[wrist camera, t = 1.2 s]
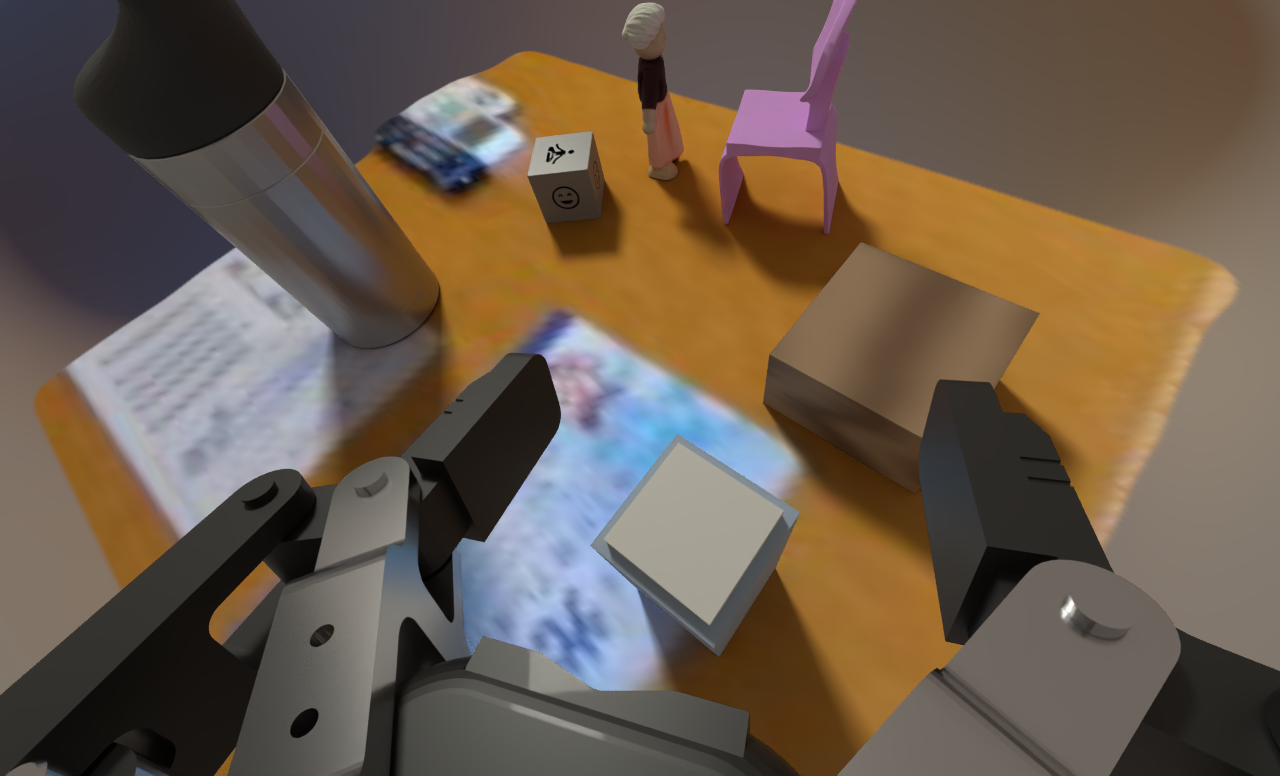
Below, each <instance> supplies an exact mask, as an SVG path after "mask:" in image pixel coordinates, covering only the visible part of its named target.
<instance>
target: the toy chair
mask: <svg viewBox="0 0 1280 776" xmlns="http://www.w3.org/2000/svg"><path fill="white" fill-rule="evenodd" d="M856 3H857V0H834V1H833V4H832V8H831V10H830V14H829V16H828V19H827V21H826V24H825V26H824V28H823V30H822V32H821V34H820V36H819V38H818V40H817V43H816V44H815V47H814V49H813V58H812V69H811V80H810V86H809V88H808V89H807V91H806V92H775V91H766V90H745V92H744V96H743V98H742V101H741V104H740V107H739V110H738V113H737V116H736V119H735V121H734V124H733V127H732V129H731V132H730V135H729V137H728V140H727V143H726V147H725V150H724V152H723V155H722V158H721V161H720V166H719V182H720V194H721V204H722V213H723V222H724V224H727V225H728V223H729V220H730V217H731V214H732V211H733V208H734V205H735V202H736V198H737V195H738V192H739V189H740V186H741V183H742V179H743V176H744V174H743V171H742V169H741V167H740V165H739V162H738V159H737V156H779V157H787V158H793V159H801V160H808V161H811V162H814V163H816V164H817V165H818V166H819V167H820V169H821V172H822V177H823V187H824V234H827V235H828V234H829V230H830V225H831V219H832V214H833V209H834V204H835V198H836V193H837V188H838V182H839V181H838V175H837V168H836V155H835V154H836V131H837V113H836V109H835V107H834V106H833V105H832V100H833V95H834V92H835V89H836V86H837V83H838V80H839V77H840V74H841V70H842V67H843V64H844V61H845V58H846V55H847V52H848V47H849V43H850V33H848V32H844V30H845V28H846V25H847V23H848V21H849V19H850V16H851V14H852V12H853V9H854V7H855V5H856Z"/></svg>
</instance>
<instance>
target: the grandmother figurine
mask: <svg viewBox="0 0 1280 776" xmlns="http://www.w3.org/2000/svg"><path fill="white" fill-rule="evenodd" d="M664 13H665V12H664V9H663V7H662V6H660V5H658V4H655V3H642V4H639V5H637V6H636V7H635V8H634V9H633V10H632V12H630V14H629V16H628V18H627V21H626V24H625V26H624V30H623V32H622V37H623V38H624V39H625V40H627V39H629V43H630V44H631V46H633V47H634V49H635V52H636V53H637V54H638V55H639V56H640V57H639V65H638V93H639V98H640V100H641V103H642V110H643V120H644V123H643V131H644V133H645V134H647V140H648V156H649V163H650V165H651V166H650V168H649V170H648V175H649V176H650V177H652V178H657V179H662V180H670V179H673V178H674V177H675V176H676V175H677V173H678V169H677V167H676V165H675V164H673V163H672V161H674V160H675V159H676V158H677V157H679V156H680V155H681V154H682V152H683V151H684V147H683V142H682V137H681V132H680V128H679V124H678V121H677V118H676V115H675V112H674V108H673V105H672V102H671V99H670V95H669V93H668V91H667V85H666V79H665V68H664V60H663V57H662V55H661V54H662V52H663V51H664V48H665V45H666V32H665V30H664V27H663V26H662V23H663V22H664V19H665V14H664Z"/></svg>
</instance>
